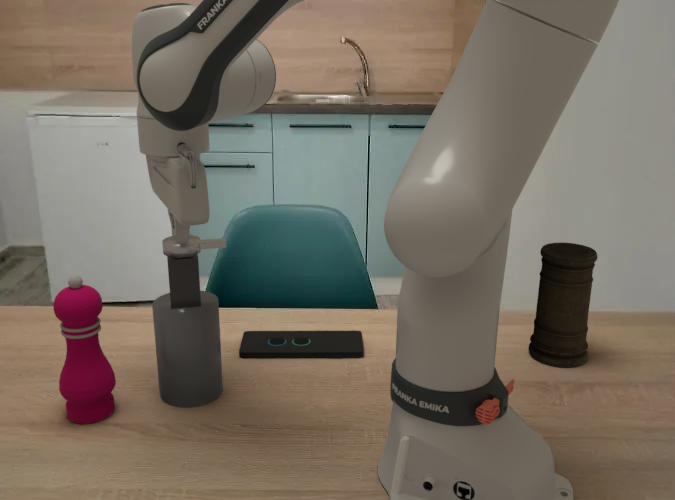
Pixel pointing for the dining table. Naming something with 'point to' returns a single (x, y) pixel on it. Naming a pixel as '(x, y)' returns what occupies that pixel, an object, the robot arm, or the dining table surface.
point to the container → (563, 305)
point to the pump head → (190, 246)
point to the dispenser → (187, 338)
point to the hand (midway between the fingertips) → (181, 240)
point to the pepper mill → (84, 354)
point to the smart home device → (301, 344)
